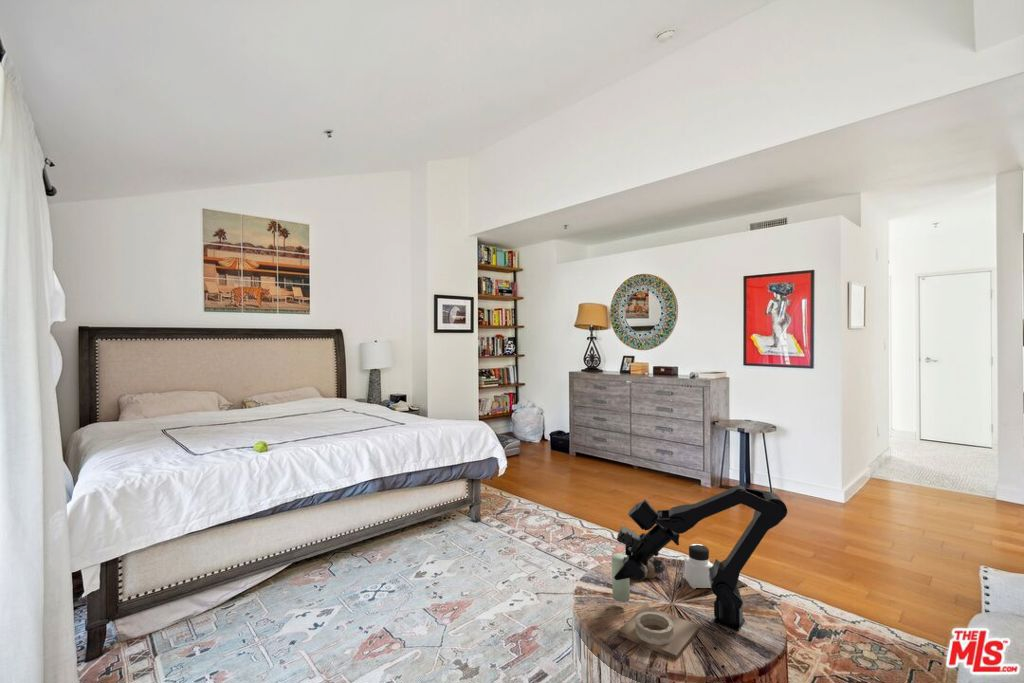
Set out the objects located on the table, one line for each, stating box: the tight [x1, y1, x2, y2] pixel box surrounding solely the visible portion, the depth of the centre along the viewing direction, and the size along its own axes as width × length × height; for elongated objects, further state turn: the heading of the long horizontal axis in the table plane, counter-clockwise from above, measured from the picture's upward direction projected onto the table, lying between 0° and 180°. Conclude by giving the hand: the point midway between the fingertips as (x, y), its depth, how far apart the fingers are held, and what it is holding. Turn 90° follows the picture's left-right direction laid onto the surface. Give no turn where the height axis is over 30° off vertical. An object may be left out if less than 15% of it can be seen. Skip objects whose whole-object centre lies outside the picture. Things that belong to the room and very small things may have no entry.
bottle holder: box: [617, 604, 701, 661], centre depth 129 cm, size 16×16×4 cm
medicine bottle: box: [684, 543, 713, 590], centre depth 154 cm, size 7×7×12 cm
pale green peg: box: [611, 552, 631, 603], centre depth 142 cm, size 5×5×12 cm
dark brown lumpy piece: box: [633, 557, 668, 579], centre depth 159 cm, size 12×7×10 cm
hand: (615, 574), depth 142 cm, fingers closed on pale green peg, 5 cm apart
